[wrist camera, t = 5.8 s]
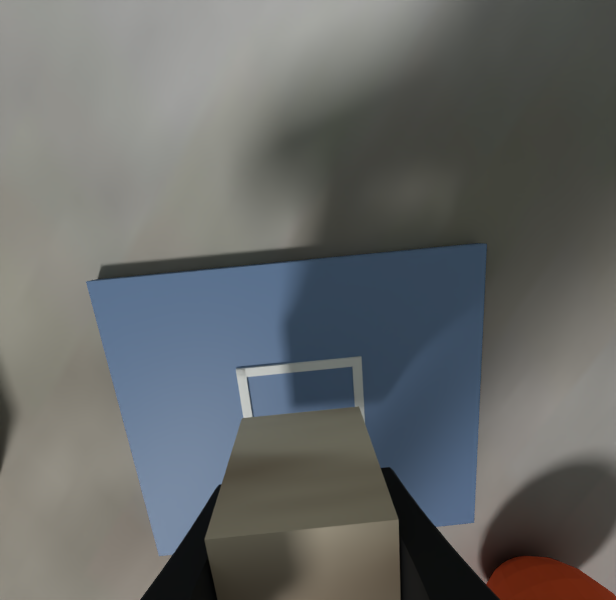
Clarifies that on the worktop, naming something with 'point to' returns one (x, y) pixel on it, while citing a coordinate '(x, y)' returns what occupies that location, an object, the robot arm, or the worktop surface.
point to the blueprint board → (299, 368)
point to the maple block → (304, 513)
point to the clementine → (544, 581)
